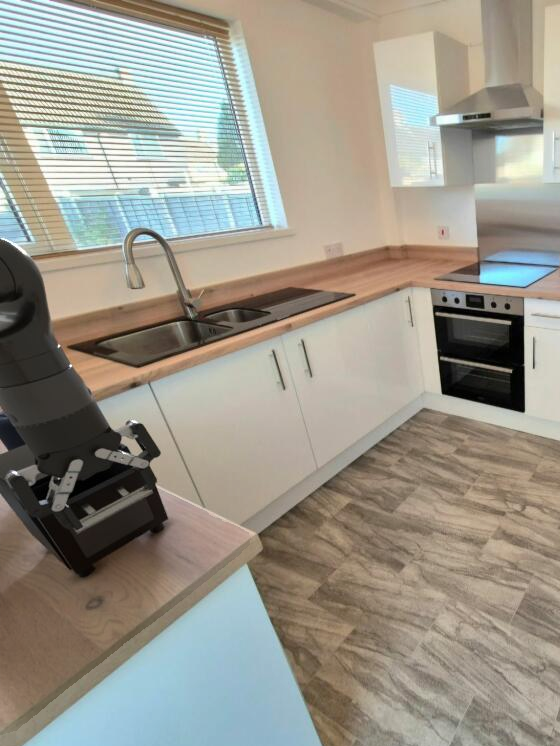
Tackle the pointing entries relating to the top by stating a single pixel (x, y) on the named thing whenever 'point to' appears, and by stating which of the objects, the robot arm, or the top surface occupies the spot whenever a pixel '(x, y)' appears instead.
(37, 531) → the oven
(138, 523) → the oven door
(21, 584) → the top surface
